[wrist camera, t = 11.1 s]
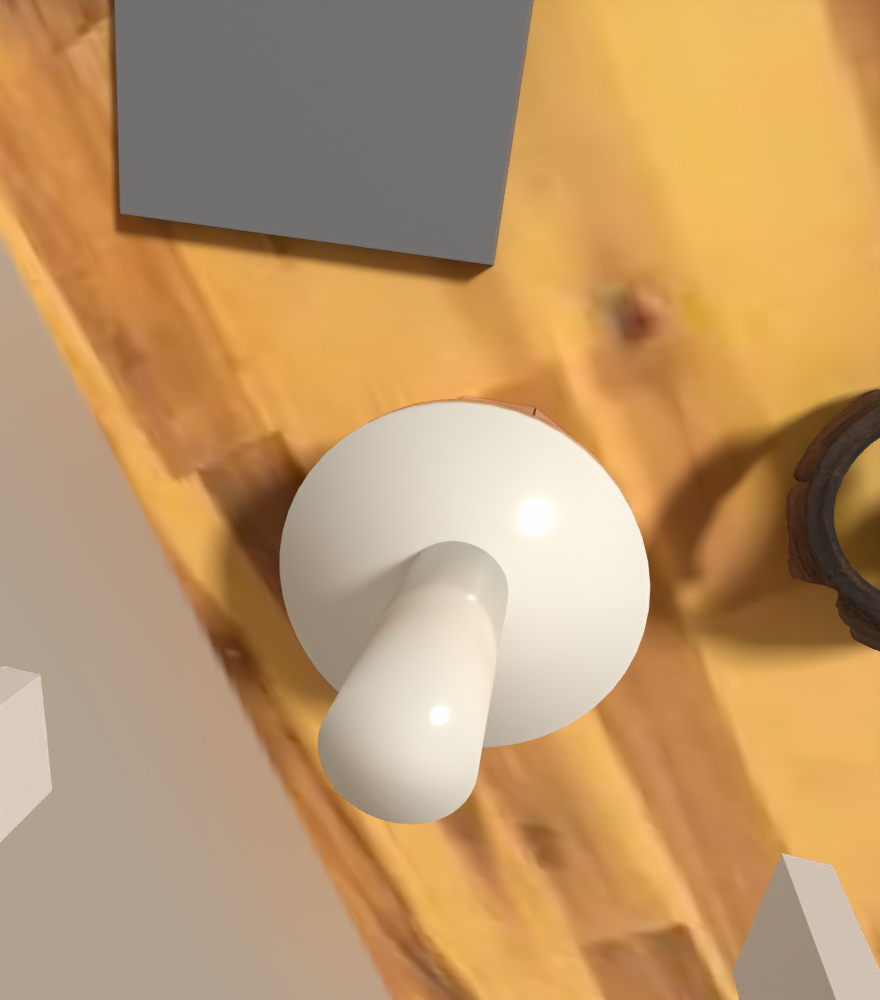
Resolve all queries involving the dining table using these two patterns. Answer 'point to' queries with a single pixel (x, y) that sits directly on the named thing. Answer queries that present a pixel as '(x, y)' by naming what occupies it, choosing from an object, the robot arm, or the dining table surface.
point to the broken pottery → (812, 512)
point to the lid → (457, 595)
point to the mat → (323, 118)
